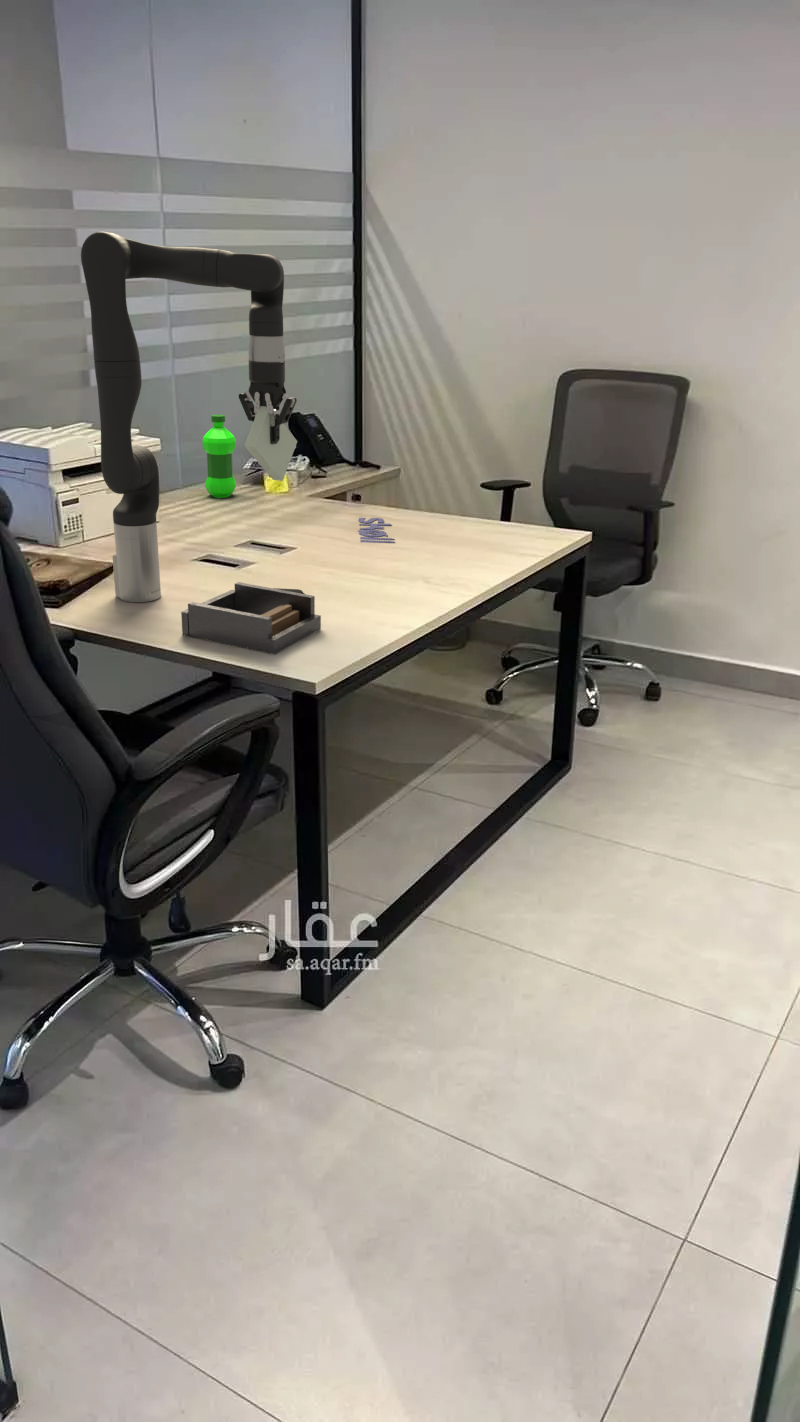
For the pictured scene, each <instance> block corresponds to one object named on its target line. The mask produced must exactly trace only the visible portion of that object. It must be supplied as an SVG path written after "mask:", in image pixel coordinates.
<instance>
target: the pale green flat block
mask: <svg viewBox="0 0 800 1422" xmlns="http://www.w3.org/2000/svg"><path fill="white" fill-rule="evenodd" d="M270 427H271V425H270V416H269V415H268V411H267V407H265V406H261V407H260V409H259V410H258V411H257V414H256V417H255V419H254V422H253V421H252V425H251V427H250V430H249V432H248V435H247V438H246V440H245V442H244V446H243V447H244V448H245V449H246V450H247V451H248V452H249V454H250V455H251V456H252V457H253V458H254V459H255V460H256V461H257V463H258V464H259V465H260V466H261V468H262V469H263V470H264V471H265V473H266V474H267V475H268V476H269V477H270V478H271V480H273V481H280V482H283V481H284V479H285V476H286V473H287V470H288V468H289V464H290V462H291V460H292V457H293V455H294V452H295V449H296V446H297V443H298V440H297V439H296V437H294V435H293V433H292V432H291V431H290V430H289V429H288V427H287V426H286V423H284V424H281V425H280V439H279V441H278V443H277V444H270Z"/></svg>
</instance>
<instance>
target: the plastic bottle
mask: <svg viewBox="0 0 800 1422" xmlns="http://www.w3.org/2000/svg"><path fill="white" fill-rule="evenodd" d="M225 422H226V415H225V414H211V423H213V427H211V428H210V429H209V430H208V431H207V432H206V433H205V434H204V436H203V438H202V448H203V449H202V450H203V451H204V452H205V453H206V457H207V458H206V460H207V461H206V463H207V477H206V479H205V482H204V483H205V484H204V485H205V486H204V487H205V489H206V491H207V492H208V493H209V495H211V496H212V497H214V498H215V499H217V498H218V499H222V498H224V499H225V498H230V496H231V495H232V494H233V493H234V492H235V489H236V485H237V481H236V478H235V477H234V473H233V453H234V451H235V450H236V445H237V444H236V443H237V441H236V437H235V435H234V434H232V432H231V431H230V430H228V429H227V428H226V427H225V426H224V425H225V424H224V423H225Z"/></svg>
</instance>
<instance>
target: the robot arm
mask: <svg viewBox="0 0 800 1422" xmlns="http://www.w3.org/2000/svg"><path fill="white" fill-rule="evenodd" d="M80 262H81V267H82V270H83V276H84V281H85V285H86V290H87V296H88V300H89V309H90V319H91V335H92V336H91V337H92V350H93V362H94V373H95V380H96V388H97V396H98V397H97V398H98V408H99V409H98V410H99V411H98V412H99V420H100V421H99V422H100V468H101V473H102V477H103V480H104V482H105V485H106V486H107V487H108V488H109V490H110V491H111V492H113V493H114V494H118V495H122V498H121V500H120V501H119V503H118V504H117V505H116V506H115V507H114V508H113V510H112V521H113V532H114V533H113V534H114V546H115V554H113V555H112V567H113V578H114V593H115V597H117V598H119V599H120V600H122V601H124V602H130V603H146V602H152V601H155V600H158V599H160V598H161V596H162V592H161V591H162V590H161V589H162V588H161V574H160V573H161V570H160V557H159V555H160V554H159V541H158V540H159V539H158V525H157V523H158V522H157V513H158V510H159V507H160V473H159V467H158V463H157V460H156V457H155V455H154V454H153V452H152V451H151V450H150V449H148V448H147V447H145V446H144V445H143V446H142V445H133V444H132V443H133V442H132V422H133V417H134V415H135V410H136V407H137V405H138V401H139V398H140V394H141V389H142V383H143V382H142V367H141V360H140V359H141V358H140V350H139V346H138V341H137V337H136V335H135V331H134V328H133V326H132V323H131V319H130V315H129V312H128V306H127V290H126V289H127V288H126V287H127V286H126V280H129V279H143V278H145V279H161V280H168V281H169V280H170V281H174V282H179V283H184V284H189V285H197V286H205V287H213V288H214V287H216V288H235V289H240V290H244V291H250V308H249V310H248V311H249V313H248V330H249V331H248V334H249V335H248V336H249V337H248V346H247V348H248V349H247V351H248V353H247V354H248V380H249V382H250V384H249V387H248V390H247V391H246V392H241V393H239V394H238V399H239V402H240V404H241V406H242V409H243V411H244V413H245V417H246V419H247V420H248V421H250V422H252V423H253V422H254V419H255V417H256V414H257V411H258V410H259V409H260V407H261V406H265V407H267V411H268V415H269V416H270V425H271V427H270V444H277V443H278V441H279V439H280V425H281V424H287V423H288V422H289V420H290V418H291V415H292V413H293V411H294V408H295V406H296V404H297V398H296V396H295V397H292V396H290V395H288V393H287V390H286V387H285V383H286V382H285V381H286V350H285V341H284V340H285V339H284V316H283V315H284V313H283V302H284V290H285V288H284V287H285V285H284V284H285V271H284V267H283V265H282V263H281V261H280V260H279V259H278V258H277V257H276V256H275V255H272V254H267V253H265V254H262V253H260V254H258V253H245V252H244V253H241V252H231V251H228V250H223V249H216V248H207V247H206V248H205V247H194V246H165V245H156V244H150V243H145V242H142V241H138V240H137V241H136V240H133V239H129V238H126V237H125V236H124V237H123V236H121V235H119V234H117V233H114V232H108V231H96V232H93V233H91V234H90V235H88V236H87V237H86V239H85V240H84V242H83V243H82V246H81V250H80ZM281 403H282V405H283V406H282V407H281Z"/></svg>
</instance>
